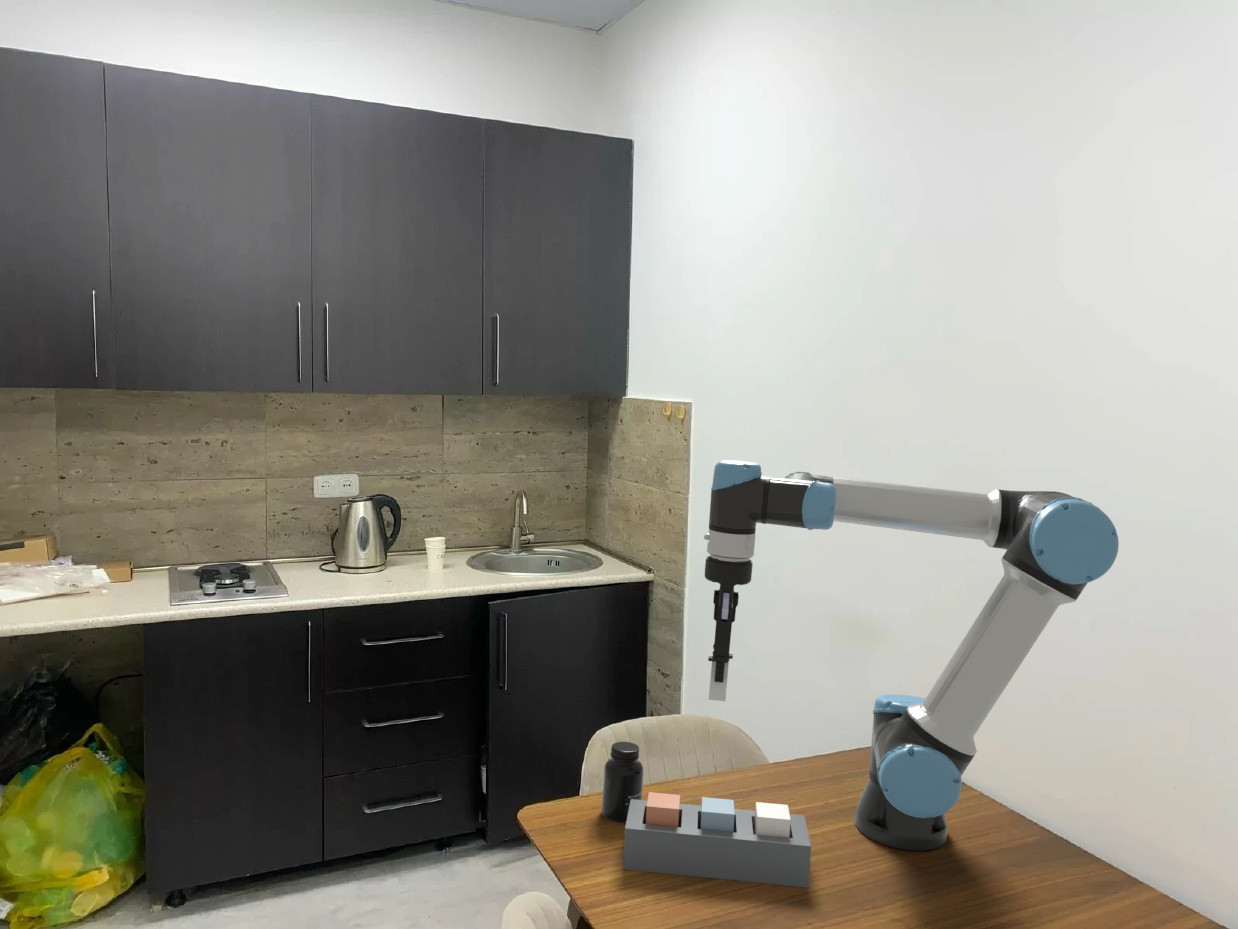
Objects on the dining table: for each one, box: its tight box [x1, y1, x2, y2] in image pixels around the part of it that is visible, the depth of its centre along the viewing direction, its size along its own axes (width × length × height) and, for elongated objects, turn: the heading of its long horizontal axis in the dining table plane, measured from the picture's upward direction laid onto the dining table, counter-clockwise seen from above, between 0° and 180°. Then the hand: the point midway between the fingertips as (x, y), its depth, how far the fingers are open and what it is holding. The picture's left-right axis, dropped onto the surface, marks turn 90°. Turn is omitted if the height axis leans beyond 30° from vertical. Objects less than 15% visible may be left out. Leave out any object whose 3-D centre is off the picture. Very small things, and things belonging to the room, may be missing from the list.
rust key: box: [646, 791, 681, 827], centre depth 142 cm, size 5×5×5 cm
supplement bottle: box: [601, 741, 644, 823], centre depth 155 cm, size 7×7×12 cm
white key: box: [754, 801, 791, 838], centre depth 140 cm, size 5×5×5 cm
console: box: [622, 799, 812, 889], centre depth 141 cm, size 28×10×6 cm, turn 84°
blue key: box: [700, 796, 735, 832], centre depth 141 cm, size 5×5×5 cm
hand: (717, 698), depth 147 cm, fingers closed
